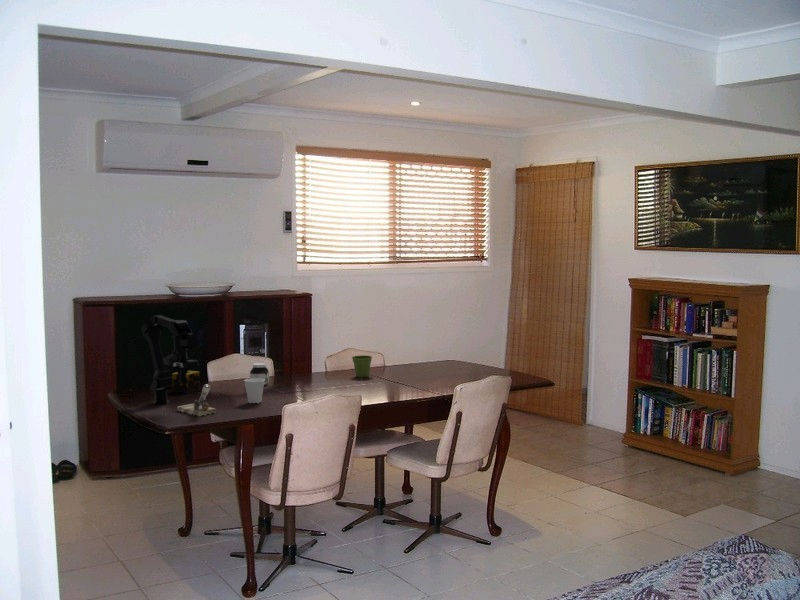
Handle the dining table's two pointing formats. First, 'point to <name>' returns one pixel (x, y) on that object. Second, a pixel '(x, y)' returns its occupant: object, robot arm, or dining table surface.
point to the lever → (204, 394)
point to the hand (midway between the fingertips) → (182, 381)
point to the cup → (254, 389)
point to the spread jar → (260, 372)
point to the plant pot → (362, 365)
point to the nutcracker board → (197, 408)
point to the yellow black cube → (186, 382)
